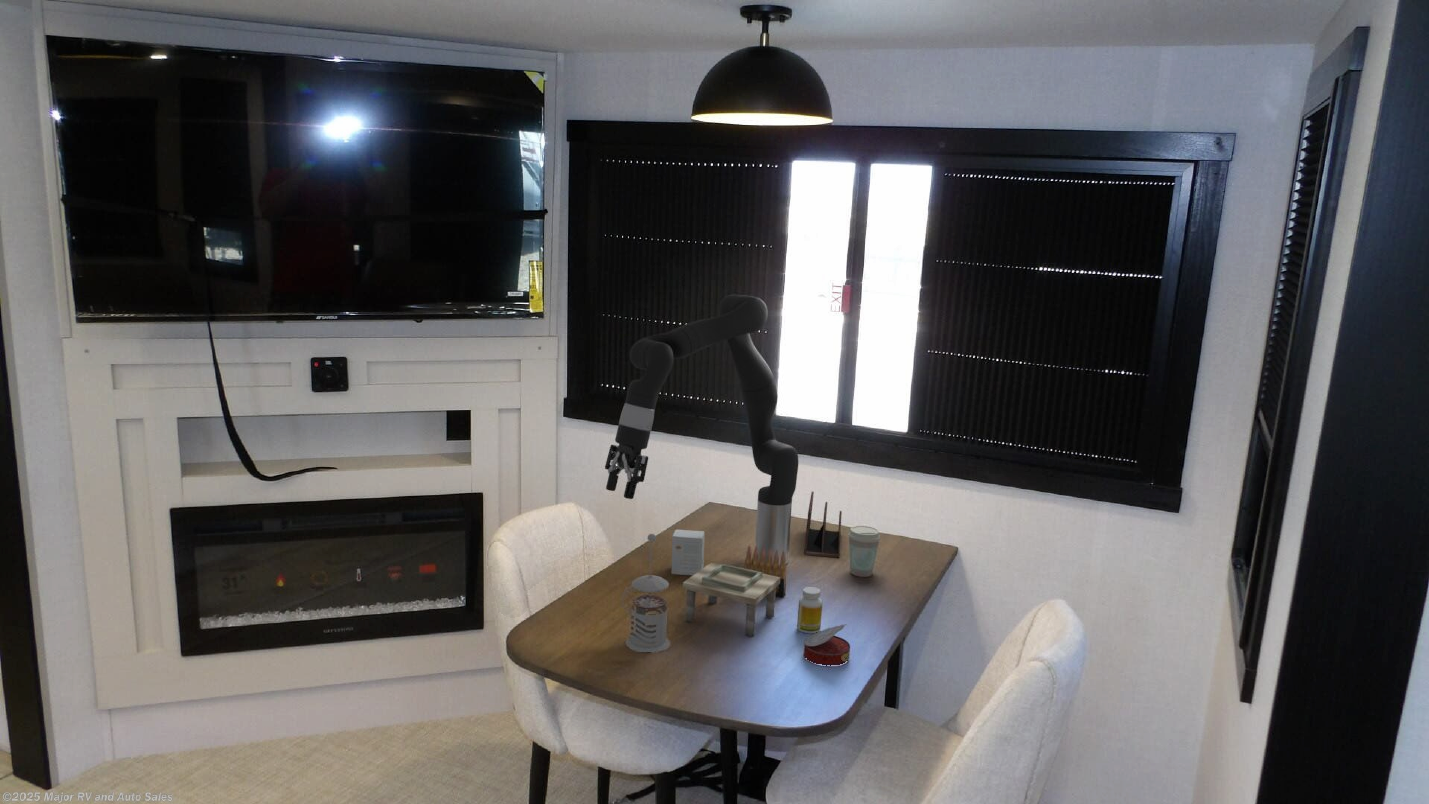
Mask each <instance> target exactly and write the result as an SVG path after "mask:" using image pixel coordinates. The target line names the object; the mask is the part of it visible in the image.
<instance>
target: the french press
mask: <svg viewBox="0 0 1429 804" xmlns="http://www.w3.org/2000/svg"><path fill="white" fill-rule="evenodd" d="M647 540H648V541H651V543H650V568H649V574H648V575H647V574H646V575H643V576H639V577H636V578H635V579H633V580H632V582H631V586H628V587H626V588H625V590H624V591H623V594H622V595H621V596H622V597H621V598H622V601H621V602H622V607H623V610H624V612H625V613H626V615H627V616H628V617H629V618H630V636H629V637H628V638H627V639H626V641H625V645H626V647H627V648H628V647H629V648H628V649H630V650H631V651H634V650H635V651H634V652H637V653H641V652H656V653H660V652H659V651H661V652H663V651H665V650H668V648H670V646H671V641H670V639H669V638H668V637H667V619H668V618H667V616H668V614H667V613H668V606H667V605H666V604H667V601H666V599H665V598H664V597H661V596H660V595H654V594H655V593H661V592H663V591H666V590H667V589H668V588H669V586H670V583H669V582H668V580H667V579H665V578H663V577H661V576H658V575H653V574H652V559H653V541H656V540H657V536H656V534H655V533H649V534H648V535H647ZM631 588H632V592H633V593H636V592H642V593H643V592H644V593H649V594H644V595H639V596H636V597H635V598H634V599H633V600H632V604H633V605H630V604H629V593H630V590H631ZM626 592H627V593H626ZM651 593H653V594H651ZM625 594H626V602H627V606H628V610H629V611H630V612H631V615H630V614H629V612H628V611H627V610H626V608H625V604H624V597H625ZM630 606H631V607H630ZM635 608H636V609H635ZM660 609H661V610H660ZM650 612H655V613H650ZM647 613H648V614H647ZM649 613H650V614H649ZM656 613H658V614H656ZM634 623H635V624H634ZM634 629H635V630H634ZM669 645H670V646H669ZM662 650H663V651H662Z"/></svg>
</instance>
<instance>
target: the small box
mask: <svg viewBox="0 0 1429 804" xmlns="http://www.w3.org/2000/svg"><path fill="white" fill-rule="evenodd" d="M671 539H672V540H671V541H672V542H671V575H679V576H680V575H681V576H682V575H683V576H693V575H694V574H696V573H697V572H699V571H700V570H702V569H703V568H704V567H705V565H704V561H705V531H701V530H689V529H675V530H674V532H673V534H672V536H671Z"/></svg>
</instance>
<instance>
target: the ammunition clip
mask: <svg viewBox="0 0 1429 804" xmlns="http://www.w3.org/2000/svg"><path fill="white" fill-rule="evenodd" d="M751 548H752V547H751V545H748V546H747V550H746V557H745V562H744V569H749V570H753V571H758V572H763V573H762V574H767V575H771V576H776V577H780V584H779V585H778V586H777V587H776V592H775V598H779V599H784V598H785V597H786V591H787V589H786V585H787V584H786V580H787V579H786V578H787V575H786V574H787V572H786V571H787V566H786V565H787V564H786V556H785V552H784V551H783V552H782V555H781V562H780V566H779V554H778V550H776V552H775V555H774V563H773V567H772V552H771V549H769V551H768V555H767V563H766V564H765V550H764V548H762V551H761V555H760V563H758V549H757V547H755V546H754V550H753V557H752V549H751ZM765 565H766V566H765ZM765 597H767V595H766V596H765Z"/></svg>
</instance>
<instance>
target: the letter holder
mask: <svg viewBox="0 0 1429 804" xmlns="http://www.w3.org/2000/svg"><path fill="white" fill-rule="evenodd" d="M813 502H814V491H811V494H810V499H809V504H808V505H809V506H808V511H807V519H806V520H807V521H806V527H805V528H806V529H805V539H804V549H803V555H804V554H806V556H816V557H826V558H835V557H836V559H837V558H838V559H839V558H840V556H841V555H840V554H841V553H840V552H841V537H842V534H841V533H842V515H843V512H842V510H840V511H839V515H838V516H839V517H838V531H837V530H836V531H835V530H828V529H826V528H827V513H828V512H827V510H828V502H827V501H825V502H824V503H825V504H824V510H823V522H822V526H820V528H819V529H813V528H811V523H812V522H811V520H812V511H813Z"/></svg>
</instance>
